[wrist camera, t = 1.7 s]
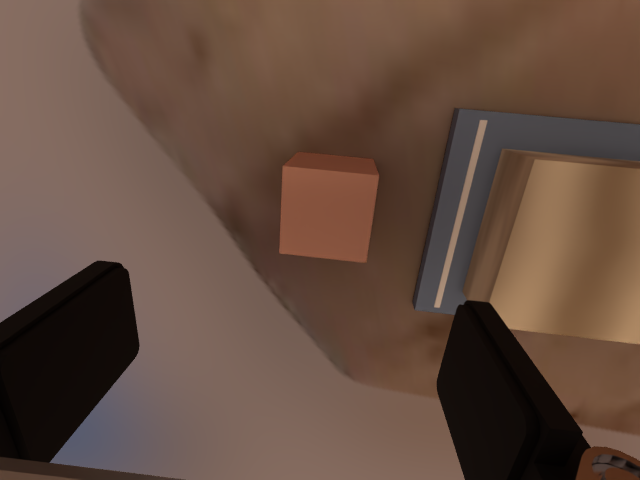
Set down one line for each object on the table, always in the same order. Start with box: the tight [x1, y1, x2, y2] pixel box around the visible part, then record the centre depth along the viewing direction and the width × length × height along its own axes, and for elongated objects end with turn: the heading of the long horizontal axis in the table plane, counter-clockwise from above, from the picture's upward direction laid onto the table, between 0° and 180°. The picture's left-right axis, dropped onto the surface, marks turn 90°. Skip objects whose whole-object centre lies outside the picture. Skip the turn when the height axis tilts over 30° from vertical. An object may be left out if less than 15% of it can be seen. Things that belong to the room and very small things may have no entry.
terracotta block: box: [279, 152, 379, 263], centre depth 21 cm, size 5×5×6 cm
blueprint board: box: [413, 108, 640, 315], centre depth 23 cm, size 16×14×1 cm
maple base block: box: [462, 149, 640, 344], centre depth 20 cm, size 10×10×4 cm
